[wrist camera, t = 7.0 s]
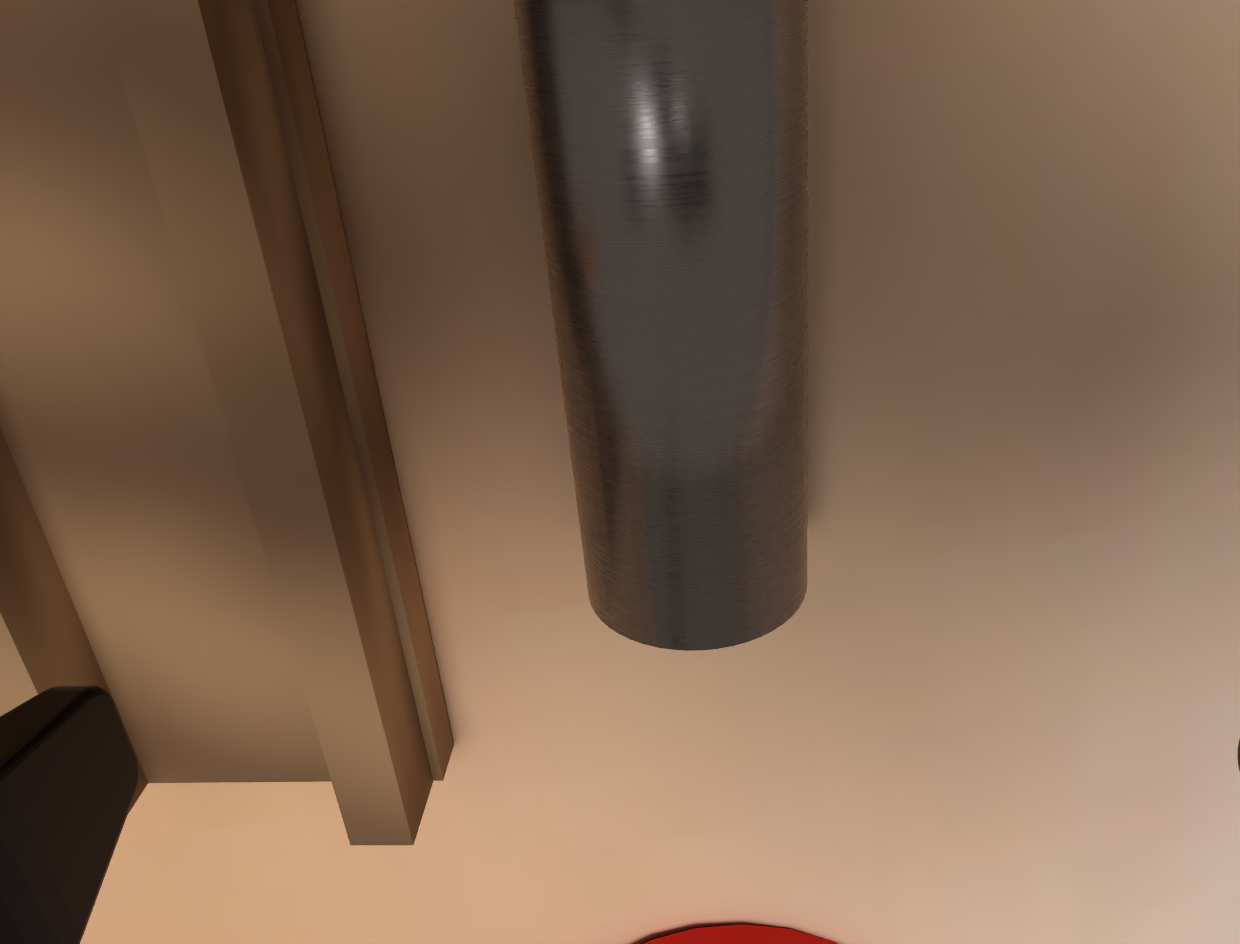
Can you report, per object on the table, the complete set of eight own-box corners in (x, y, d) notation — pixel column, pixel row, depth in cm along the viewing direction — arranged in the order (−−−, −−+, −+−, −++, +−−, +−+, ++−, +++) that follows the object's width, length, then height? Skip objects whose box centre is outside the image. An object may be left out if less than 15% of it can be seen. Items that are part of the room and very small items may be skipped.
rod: (471, -490, 12) (409, -648, 8) (781, -529, 11) (837, -707, 8) (592, 531, 18) (583, 656, 15) (791, 518, 18) (824, 642, 15)
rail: (-261, -106, 14) (-447, -113, 12) (260, -162, 13) (170, -179, 11) (108, 748, 22) (39, 845, 19) (454, 744, 21) (423, 845, 19)
